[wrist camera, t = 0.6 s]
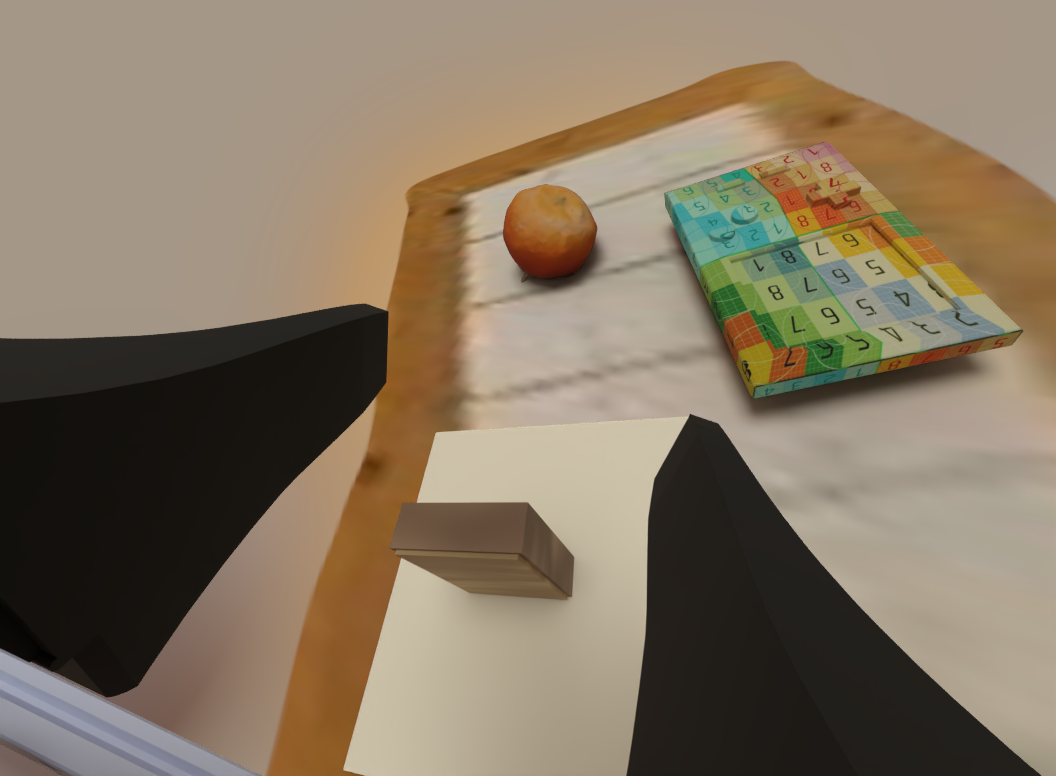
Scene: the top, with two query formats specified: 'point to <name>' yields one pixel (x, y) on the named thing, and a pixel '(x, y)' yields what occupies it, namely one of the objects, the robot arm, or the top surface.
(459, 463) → the mat
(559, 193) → the fruit
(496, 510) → the walnut tile
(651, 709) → the robot arm
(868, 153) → the top surface
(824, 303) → the puzzle game
